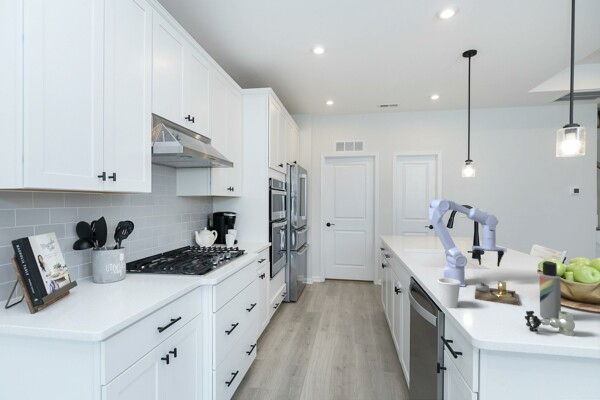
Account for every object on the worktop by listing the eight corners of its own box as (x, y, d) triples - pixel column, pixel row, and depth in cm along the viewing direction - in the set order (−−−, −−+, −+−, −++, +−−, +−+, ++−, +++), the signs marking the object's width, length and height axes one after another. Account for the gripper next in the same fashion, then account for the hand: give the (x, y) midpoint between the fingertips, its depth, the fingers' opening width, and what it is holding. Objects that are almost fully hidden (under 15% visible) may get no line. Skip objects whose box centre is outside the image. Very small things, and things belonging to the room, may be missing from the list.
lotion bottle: (556, 315, 106) (555, 260, 106) (564, 321, 101) (563, 264, 101) (537, 313, 108) (536, 260, 108) (544, 319, 103) (543, 263, 103)
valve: (566, 330, 95) (524, 326, 98) (566, 309, 95) (524, 307, 98) (581, 339, 89) (535, 335, 91) (581, 317, 89) (535, 314, 91)
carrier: (474, 299, 125) (474, 287, 125) (475, 289, 138) (475, 278, 138) (518, 305, 117) (518, 293, 117) (514, 294, 130) (514, 283, 130)
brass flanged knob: (492, 298, 126) (492, 283, 126) (492, 293, 132) (492, 279, 132) (512, 300, 123) (512, 285, 123) (511, 296, 128) (511, 281, 128)
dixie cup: (433, 303, 120) (432, 279, 120) (447, 300, 123) (447, 277, 123) (450, 310, 112) (450, 284, 112) (465, 307, 115) (465, 282, 115)
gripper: (471, 238, 147) (472, 265, 147) (506, 240, 139) (507, 268, 139) (472, 236, 153) (472, 262, 153) (506, 238, 145) (506, 265, 145)
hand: (489, 265), depth 146 cm, fingers open, 7 cm apart
